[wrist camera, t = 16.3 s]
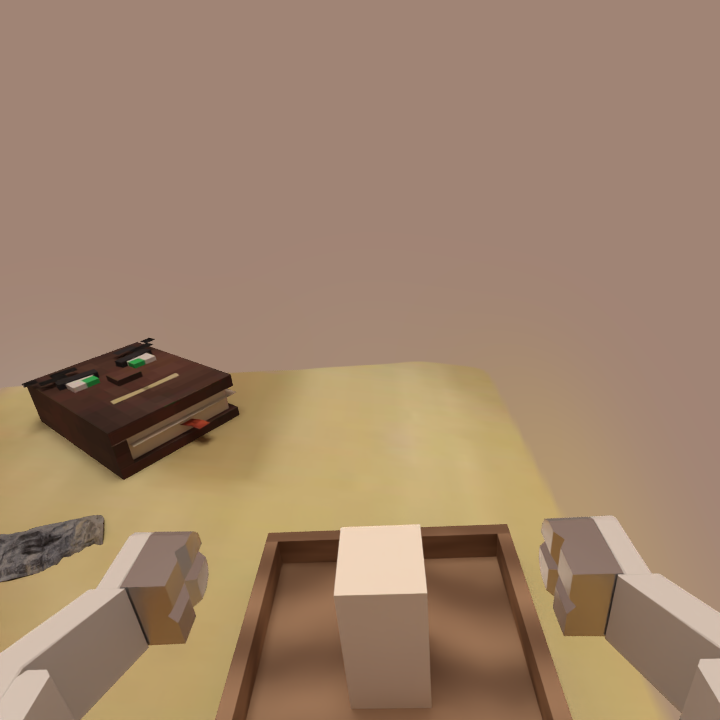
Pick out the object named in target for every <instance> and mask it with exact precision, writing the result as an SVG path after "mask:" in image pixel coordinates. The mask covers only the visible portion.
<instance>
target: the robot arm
mask: <svg viewBox="0 0 720 720" xmlns="http://www.w3.org/2000/svg"><path fill="white" fill-rule="evenodd" d="M541 532H542V535H543V537H544V540H545V542H544V543H543V544H542V545H541V546H540V549H539V563H540V571H541V575H542V579H543V582H544V585H545V588H546V590H547V591H548V592H549V593H551V594H552V595H553V596H554V604H553V609H554V612H555V614H556V617H557V619H558V622H559V625H560V627H561V630H562V632H563V635H564V636H605V639H606V640H607V641H608V642H609V643H610V644H611V645H612V646H613V647H614V648H615V649H616V650H617V651H618V652H619V653H620V654H621V655H622V656H623V657H624V658H626V659H627V660H628V661H629V662H630V663H631V664H632V665H633V666H634V667H635V668H636V669H637V670H638V671H639V672H640V673H641V674H642V675H643V676H644V677H645V678H646V679H647V680H648V681H649V682H650V683H651V684H652V685H653V686H654V687H655V688H656V689H657V690H658V691H659V692H660V693H661V694H662V695H663V696H664V697H665V698H666V699H667V700H668V701H670V703H672V705H674V706H675V707H676V708H677V709H678V710H679V711H680V712H681V713H682V714H681V716H680V719H679V720H720V613H719V612H717V611H716V610H714V609H713V608H711V607H710V606H708V605H707V604H705V603H703V602H702V601H700V600H699V599H697V598H696V597H694V596H693V595H691V594H690V593H688V592H687V591H685V590H684V589H682V588H680V587H679V586H677V585H676V584H674V583H672V582H671V581H670V580H668V579H667V578H665V577H664V576H662V575H660V574H652V573H651V571H650V570H649V568H648V567H647V565H646V564H645V562H644V561H643V559H642V558H641V556H640V554H639V553H638V551H637V550H636V548H635V547H634V545H633V543H632V542H631V541H630V539H629V537H628V536H627V534H626V533H625V531H624V529H623V528H622V526H621V525H620V523H619V522H618V520H617V519H616V518H615V517H613V516H594V517H593V516H592V517H573V518H551V519H544V521H543V523H542V529H541ZM201 544H202V543H201V540H200V537H199V534H198V533H197V532H140V533H134V534H132V535H131V536H129V538H128V539H127V541H126V542H125V544H124V545H123V547H122V549H121V550H120V552H119V553H118V555H117V556H116V558H115V560H114V561H113V563H112V564H111V566H110V567H109V569H108V571H107V572H106V574H105V575H104V577H103V578H102V580H101V582H100V583H99V585H98V586H97V588H96V589H90V590H88V591H87V592H85V593H84V594H82V595H81V596H80V597H78V598H77V599H75V600H74V601H73V602H71V603H70V604H68V605H67V606H66V607H64V608H63V609H61V610H60V611H59V612H57V613H56V614H54V615H53V616H52V617H50V618H49V619H47V620H46V621H45V622H43V623H42V624H40V625H39V626H38V627H36V628H35V629H33V630H32V631H31V632H29V633H28V634H26V635H25V636H24V637H22V638H21V639H19V640H18V641H17V642H15V643H14V644H12V645H11V646H10V647H8V648H7V649H5V650H4V651H3V652H1V653H0V720H80V719H81V718H82V717H83V716H84V715H85V714H86V713H87V712H88V711H89V710H90V709H91V708H92V707H93V706H94V705H95V704H96V703H97V702H98V700H99V699H100V698H101V697H102V696H103V695H104V694H105V693H106V692H107V691H108V690H109V689H110V688H111V687H112V686H113V685H114V684H115V683H116V681H117V680H118V679H119V678H120V677H121V676H122V675H123V674H124V673H125V672H126V671H127V670H128V669H129V668H130V667H131V666H132V665H133V664H134V662H135V661H136V660H137V659H138V658H139V657H140V656H141V655H142V654H143V653H144V652H145V651H146V650H147V649H148V645H164V644H184V643H186V640H187V638H188V635H189V633H190V630H191V628H192V625H193V622H194V620H195V617H196V615H195V612H194V609H193V607H194V606H195V605H196V604H197V603H199V602H200V601H201V600H202V599H203V596H204V593H205V591H206V588H207V581H208V564H207V560H206V557H205V556H204V555H202V554H201V553H200V552H199V548H200V546H201Z"/></svg>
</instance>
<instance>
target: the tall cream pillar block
mask: <svg viewBox="0 0 720 720" xmlns="http://www.w3.org/2000/svg"><path fill="white" fill-rule="evenodd" d="M334 601H335V608H336V614H337V621H338V627H339V634H340V640H341V647H342V653H343V660H344V667H345V673H346V680H347V686H348V693H349V699H350V706H351V709H381V708H432V704H431V678H430V652H429V626H428V600H427V586H426V576H425V567H424V557H423V548H422V538H421V528H420V524H419V525H391V526H364V527H341V530H340V540H339V549H338V559H337V568H336V578H335V588H334Z"/></svg>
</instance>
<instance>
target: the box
mask: <svg viewBox="0 0 720 720" xmlns="http://www.w3.org/2000/svg"><path fill="white" fill-rule="evenodd" d="M420 528H421V538H422V548H423V557H424V567H425V576H426V586H427V600H428V626H429V652H430V678H431V704H432V708H381V709H351V706H350V699H349V693H348V686H347V680H346V673H345V667H344V660H343V653H342V647H341V640H340V634H339V627H338V621H337V614H336V608H335V601H334V588H335V578H336V568H337V559H338V549H339V540H340V530H338V531H311V532H284V533H268V537H267V540H266V544H265V547H264V551H263V554H262V558H261V561H260V565H259V568H258V572H257V575H256V579H255V582H254V586H253V589H252V593H251V596H250V600H249V603H248V607H247V610H246V613H245V617H244V620H243V624H242V627H241V631H240V634H239V638H238V641H237V645H236V648H235V652H234V655H233V659H232V662H231V666H230V669H229V673H228V676H227V680H226V683H225V687H224V690H223V694H222V697H221V701H220V704H219V708H218V711H217V715H216V718H215V720H572V717H571V714H570V711H569V708H568V705H567V702H566V699H565V696H564V693H563V690H562V687H561V684H560V681H559V678H558V675H557V672H556V669H555V666H554V663H553V660H552V657H551V654H550V651H549V648H548V645H547V642H546V639H545V636H544V633H543V630H542V627H541V624H540V621H539V618H538V615H537V612H536V609H535V606H534V603H533V600H532V597H531V594H530V591H529V588H528V585H527V582H526V579H525V577H524V574H523V571H522V568H521V565H520V562H519V559H518V556H517V553H516V550H515V547H514V544H513V541H512V538H511V535H510V532H509V529H508V526H507V524H499V525H473V526H446V527H420Z"/></svg>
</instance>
